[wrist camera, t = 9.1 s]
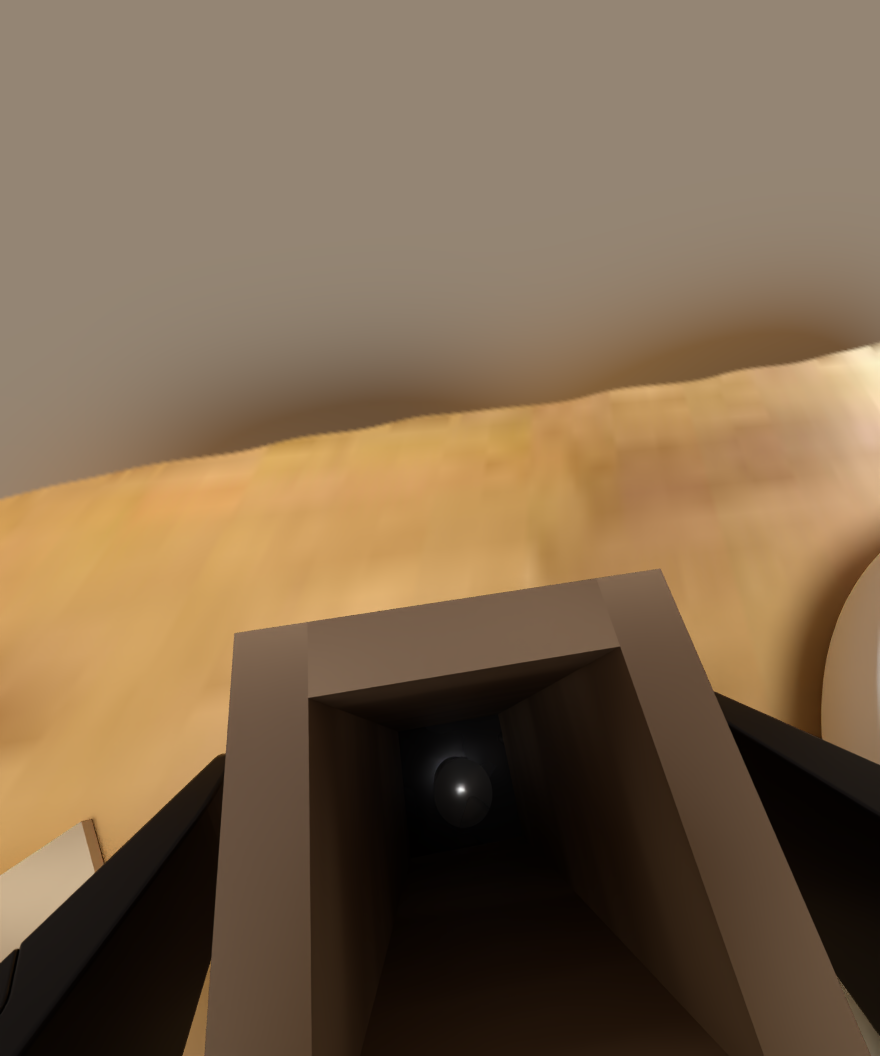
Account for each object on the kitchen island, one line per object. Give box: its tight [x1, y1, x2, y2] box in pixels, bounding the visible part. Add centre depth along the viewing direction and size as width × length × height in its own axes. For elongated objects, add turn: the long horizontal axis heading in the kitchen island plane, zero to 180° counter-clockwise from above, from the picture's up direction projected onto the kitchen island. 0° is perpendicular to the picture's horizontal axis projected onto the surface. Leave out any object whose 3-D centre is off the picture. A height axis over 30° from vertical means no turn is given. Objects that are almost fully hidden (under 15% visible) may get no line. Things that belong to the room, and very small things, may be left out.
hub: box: [398, 714, 523, 858], centre depth 14 cm, size 10×10×5 cm
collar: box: [205, 569, 871, 1056], centre depth 9 cm, size 6×6×12 cm
